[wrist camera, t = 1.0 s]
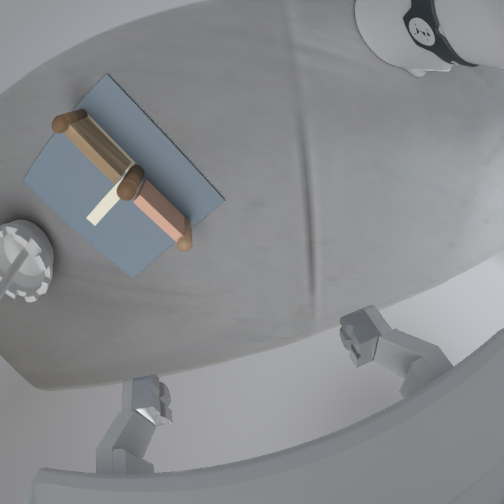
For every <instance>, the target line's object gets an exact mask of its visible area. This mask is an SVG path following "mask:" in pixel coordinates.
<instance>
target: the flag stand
mask: <svg viewBox="0 0 504 504" xmlns="http://www.w3.org/2000/svg"><path fill="white" fill-rule="evenodd" d="M53 262H54V254H53V249H52V246H51V243H50V241H49V239H48V238H47V236H46V235H45V233H44V232H43V231H42V230H41V229H40V228H39V227H38V226H36V225H35V224H33V223H31V222H29V221H26V220H14V221H12V222H11V223H5V224H2V225H0V301H1V299H2V297H3V295H4V294H5V293H6V294H8V295H9V296H11V297H13V298H14V299H15V298H16V296H17V294H18V295H21V296H24V297H25V299H26V301H27V302H33V301H37V300H38V298H39V296H40V295H42V294H43V293H44V294H45V293H46V291H47V289H48V287H49V284H50V282H51V280H52V276H53Z"/></svg>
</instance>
